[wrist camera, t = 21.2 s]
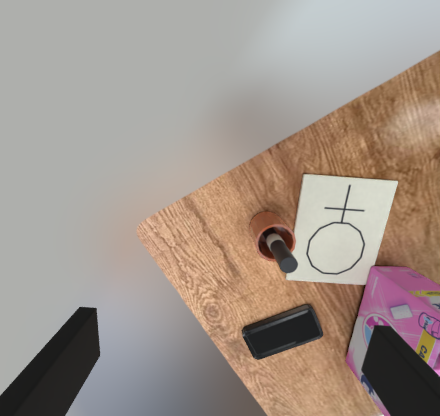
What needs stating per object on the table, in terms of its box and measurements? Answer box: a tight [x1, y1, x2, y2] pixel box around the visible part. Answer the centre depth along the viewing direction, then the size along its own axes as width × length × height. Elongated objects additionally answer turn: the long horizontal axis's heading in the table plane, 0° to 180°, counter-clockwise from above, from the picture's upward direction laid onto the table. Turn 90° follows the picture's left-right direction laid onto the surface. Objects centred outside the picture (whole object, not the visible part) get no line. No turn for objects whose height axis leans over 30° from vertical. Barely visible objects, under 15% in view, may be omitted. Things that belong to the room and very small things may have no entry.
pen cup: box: [249, 211, 296, 262], centre depth 36 cm, size 6×6×7 cm
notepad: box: [285, 174, 398, 285], centre depth 39 cm, size 20×16×1 cm
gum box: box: [345, 266, 440, 416], centre depth 38 cm, size 24×8×14 cm, turn 176°
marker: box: [262, 227, 298, 273], centre depth 33 cm, size 2×2×13 cm
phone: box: [242, 305, 323, 360], centre depth 44 cm, size 8×1×15 cm
